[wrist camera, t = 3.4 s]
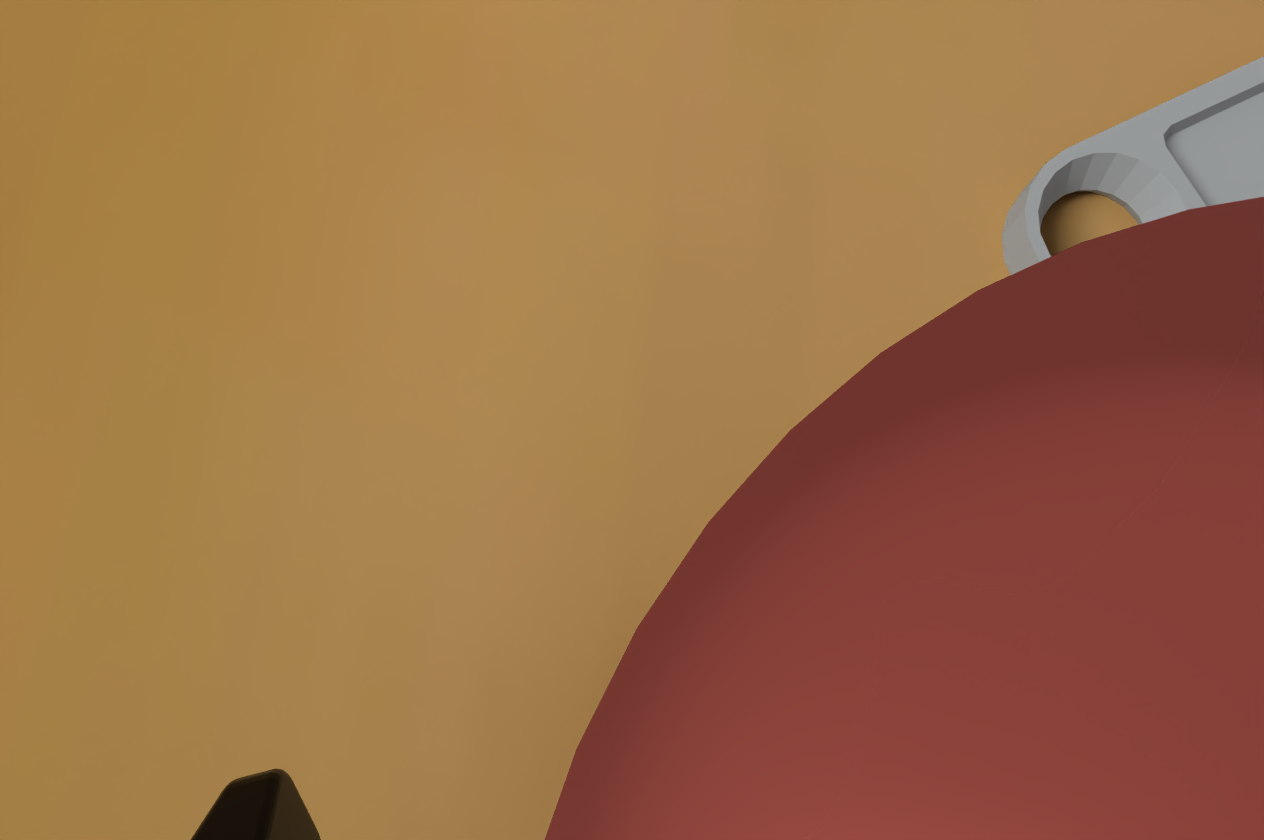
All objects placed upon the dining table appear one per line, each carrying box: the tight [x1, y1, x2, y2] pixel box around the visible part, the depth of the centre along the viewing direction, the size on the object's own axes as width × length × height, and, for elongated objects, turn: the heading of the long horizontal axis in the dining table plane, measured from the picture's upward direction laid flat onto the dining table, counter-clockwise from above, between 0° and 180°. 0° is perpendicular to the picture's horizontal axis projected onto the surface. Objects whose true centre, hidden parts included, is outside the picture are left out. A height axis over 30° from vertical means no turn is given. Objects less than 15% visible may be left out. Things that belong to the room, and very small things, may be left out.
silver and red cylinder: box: [545, 197, 1264, 840], centre depth 9 cm, size 5×5×13 cm
